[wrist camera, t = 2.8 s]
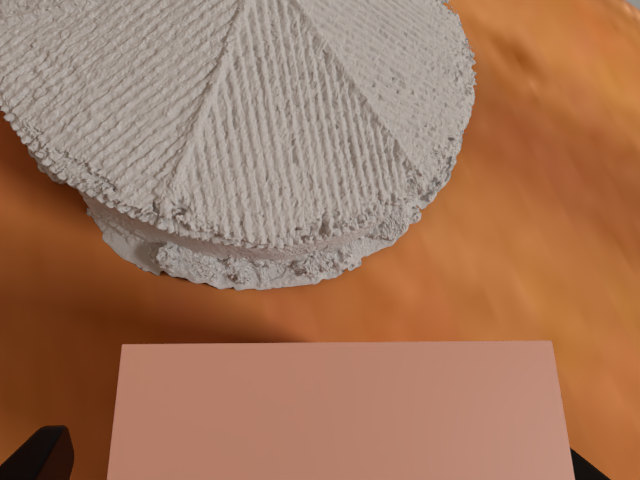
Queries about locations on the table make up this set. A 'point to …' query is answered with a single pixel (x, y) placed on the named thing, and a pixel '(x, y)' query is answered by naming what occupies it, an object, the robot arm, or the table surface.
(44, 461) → the robot arm
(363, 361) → the tall brick
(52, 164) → the grey round stone disc
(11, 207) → the table surface
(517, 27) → the table surface
